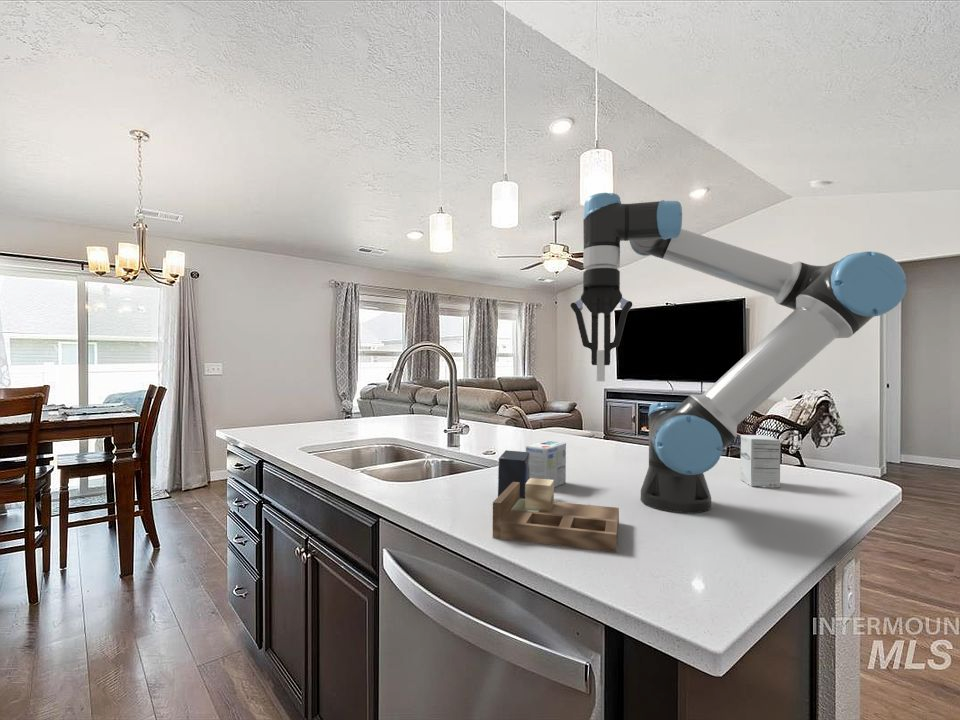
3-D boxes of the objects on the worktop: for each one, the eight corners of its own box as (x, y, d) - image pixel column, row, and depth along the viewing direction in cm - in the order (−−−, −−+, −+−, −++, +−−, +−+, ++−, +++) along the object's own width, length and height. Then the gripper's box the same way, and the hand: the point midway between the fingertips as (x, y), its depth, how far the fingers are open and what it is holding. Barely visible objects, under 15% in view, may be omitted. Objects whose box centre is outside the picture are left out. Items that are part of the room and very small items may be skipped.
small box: (525, 506, 111) (525, 459, 110) (496, 504, 112) (497, 458, 112) (530, 493, 121) (530, 450, 121) (504, 492, 122) (504, 449, 122)
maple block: (553, 503, 102) (553, 479, 102) (550, 511, 97) (550, 485, 97) (529, 501, 103) (530, 478, 103) (525, 508, 99) (525, 483, 99)
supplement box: (739, 480, 136) (739, 434, 136) (768, 481, 135) (768, 435, 134) (750, 487, 128) (750, 438, 128) (781, 488, 127) (781, 439, 127)
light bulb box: (544, 479, 136) (544, 439, 135) (566, 482, 132) (567, 442, 132) (524, 487, 127) (524, 445, 127) (547, 491, 123) (548, 448, 123)
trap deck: (618, 522, 100) (619, 490, 100) (616, 552, 84) (616, 514, 84) (512, 511, 106) (512, 481, 106) (492, 537, 91) (492, 502, 91)
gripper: (633, 271, 106) (632, 380, 106) (572, 274, 110) (571, 379, 110) (633, 264, 99) (632, 382, 99) (568, 268, 103) (567, 381, 103)
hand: (600, 380), depth 105 cm, fingers closed
